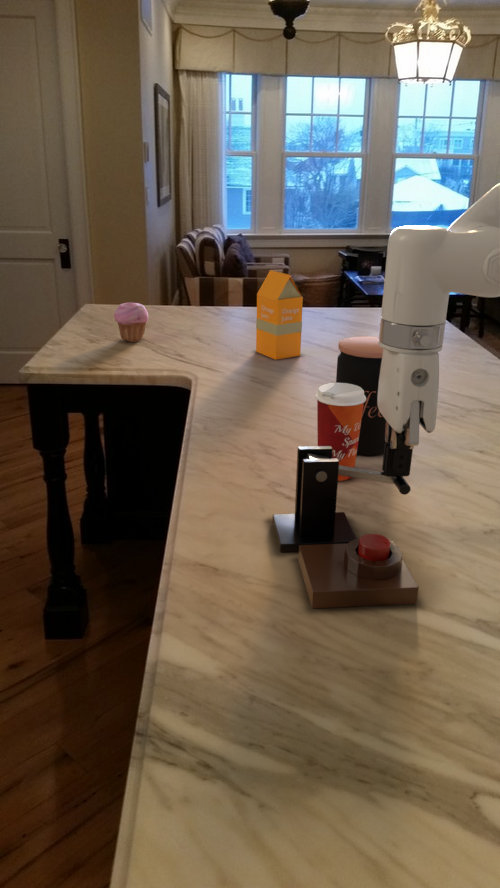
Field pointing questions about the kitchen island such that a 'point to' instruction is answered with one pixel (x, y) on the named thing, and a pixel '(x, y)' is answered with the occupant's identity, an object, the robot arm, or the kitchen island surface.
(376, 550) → the button
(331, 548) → the button block
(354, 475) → the tap lever
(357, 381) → the coffee jar
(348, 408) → the paper cup
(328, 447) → the bracket
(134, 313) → the cupcake
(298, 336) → the orange juice
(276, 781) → the kitchen island surface
